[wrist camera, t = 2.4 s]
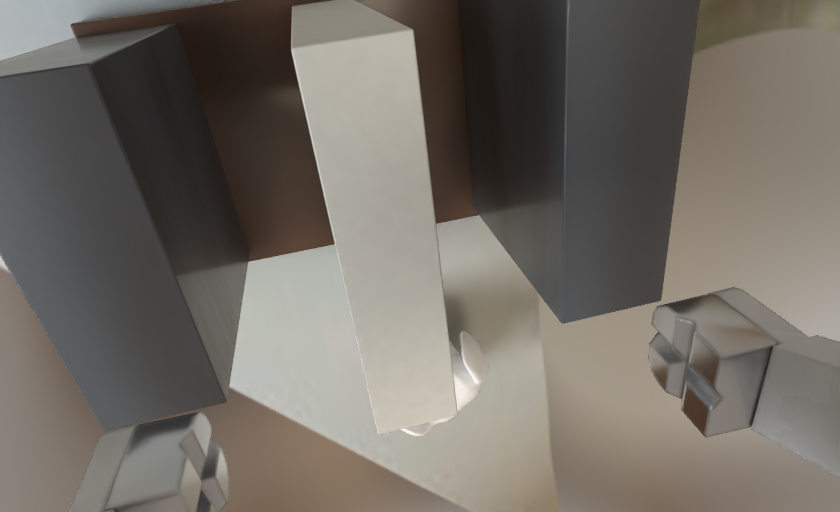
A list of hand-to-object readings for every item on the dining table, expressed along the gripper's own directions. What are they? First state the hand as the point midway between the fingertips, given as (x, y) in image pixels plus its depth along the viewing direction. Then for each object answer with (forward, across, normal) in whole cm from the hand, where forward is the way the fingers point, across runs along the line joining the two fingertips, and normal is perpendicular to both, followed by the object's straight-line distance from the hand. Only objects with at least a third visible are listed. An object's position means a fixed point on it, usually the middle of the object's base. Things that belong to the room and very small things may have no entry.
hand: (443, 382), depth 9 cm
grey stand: (+19, 0, 0) cm, 19 cm away
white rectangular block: (+18, 0, 0) cm, 18 cm away
